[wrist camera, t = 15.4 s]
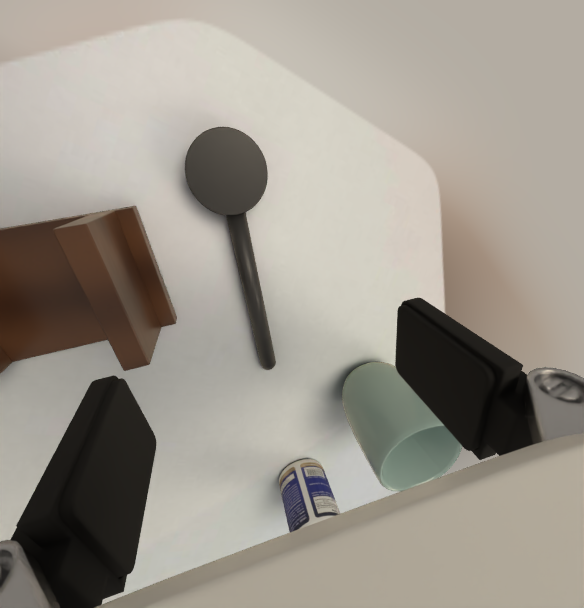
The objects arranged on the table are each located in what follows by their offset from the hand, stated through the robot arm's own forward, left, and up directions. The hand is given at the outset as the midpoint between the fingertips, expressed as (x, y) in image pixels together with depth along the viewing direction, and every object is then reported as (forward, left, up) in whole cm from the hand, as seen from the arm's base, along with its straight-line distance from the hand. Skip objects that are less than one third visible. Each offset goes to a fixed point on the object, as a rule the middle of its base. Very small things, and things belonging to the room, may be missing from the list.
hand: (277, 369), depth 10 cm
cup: (+17, +10, -15) cm, 25 cm away
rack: (0, -15, -15) cm, 21 cm away
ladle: (+1, 0, -15) cm, 15 cm away
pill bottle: (+29, +1, -15) cm, 33 cm away
